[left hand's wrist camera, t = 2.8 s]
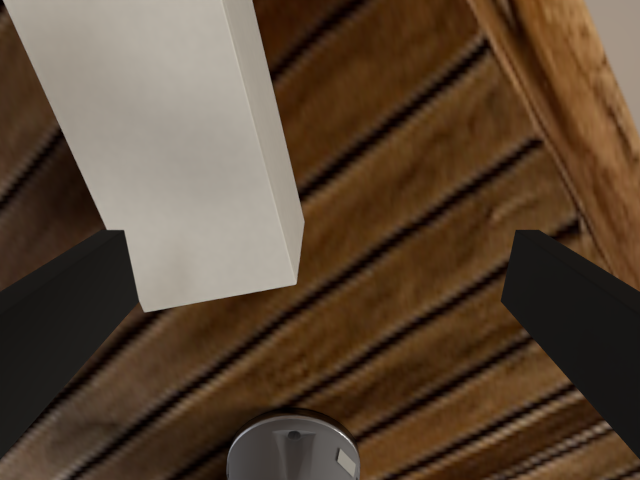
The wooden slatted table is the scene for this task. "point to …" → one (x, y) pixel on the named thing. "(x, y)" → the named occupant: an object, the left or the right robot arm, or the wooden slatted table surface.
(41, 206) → the wooden slatted table surface
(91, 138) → the cabinet
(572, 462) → the wooden slatted table surface
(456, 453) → the wooden slatted table surface
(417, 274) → the wooden slatted table surface
